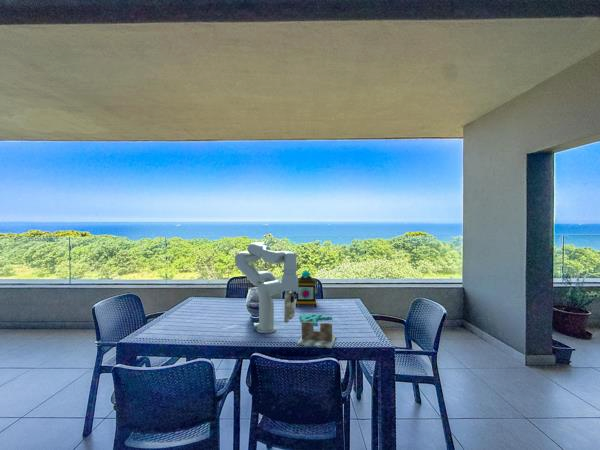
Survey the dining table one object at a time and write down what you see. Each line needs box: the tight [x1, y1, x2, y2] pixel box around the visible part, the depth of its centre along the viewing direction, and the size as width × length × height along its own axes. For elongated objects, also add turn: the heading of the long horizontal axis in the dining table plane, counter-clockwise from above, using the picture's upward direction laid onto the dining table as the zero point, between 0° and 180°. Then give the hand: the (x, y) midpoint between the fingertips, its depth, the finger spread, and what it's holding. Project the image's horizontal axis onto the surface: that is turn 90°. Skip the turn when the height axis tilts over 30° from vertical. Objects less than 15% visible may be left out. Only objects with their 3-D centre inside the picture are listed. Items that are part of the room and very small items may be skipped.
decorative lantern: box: [295, 270, 318, 309], centre depth 277 cm, size 20×20×30 cm
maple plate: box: [283, 291, 296, 323], centre depth 198 cm, size 2×16×16 cm, turn 166°
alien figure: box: [298, 313, 333, 327], centre depth 235 cm, size 20×2×20 cm
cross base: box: [296, 321, 337, 349], centre depth 192 cm, size 20×18×11 cm
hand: (289, 301), depth 198 cm, fingers closed on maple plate, 2 cm apart
